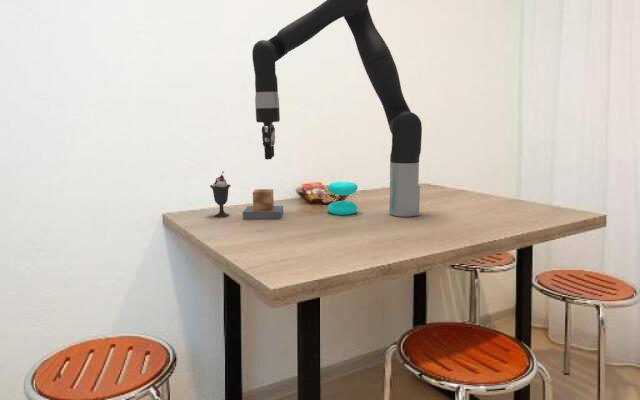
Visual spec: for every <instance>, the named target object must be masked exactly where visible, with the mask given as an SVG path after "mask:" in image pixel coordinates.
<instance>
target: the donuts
mask: <svg viewBox="0 0 640 400" xmlns="http://www.w3.org/2000/svg"><path fill="white" fill-rule="evenodd" d="M327 191H328V192H329V193H330V194H332V195H335V196H337V195H338V196H350V195H353V194H355V193H356V192H357V191H358V184H356V183H355V182H351V181H350V182H349V181H335V182H334V181H333V182H329V184H328V185H327ZM327 210H328V212H329V214H332V215H337V216H338V215H339V216H345V215H346V216H348V215H349V216H350V215H353V214H355V213H357V211H358V205H357V204H356V203H355V202H353V201H348V200H337V201H336V200H335V201H333V202H331V203H329V204H328V206H327Z"/></svg>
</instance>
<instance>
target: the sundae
mask: <svg viewBox="0 0 640 400" xmlns="http://www.w3.org/2000/svg"><path fill="white" fill-rule="evenodd" d="M224 173H225V172H224V170H223V171H222V172H221V175H220V176H219V177H216V178H215V182H214V183H212V184H211V185H209V187H210V188H211V189H212V194H213V198H214V201H215V203H216V205H218V206H219V211H218V213H215V214H214V217H215V218H226V217H229V216H230V214H229V213H227V212H225V210H224V205H225V204H227V202H228V198H229V190H230V188H231V185H230V184H228V183H227V180H226V178H225V177H224V175H223V174H224Z"/></svg>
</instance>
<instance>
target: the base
mask: <svg viewBox="0 0 640 400" xmlns="http://www.w3.org/2000/svg"><path fill="white" fill-rule="evenodd" d="M283 216H284V205H274V207H273V210H272V211H253V205H247V206H246V207H245V209H244V210H243V212H242V220H244V221H246V220H247V221H250V220H252V221H253V220H257V221H260V220H263V221H264V220H268V221H269V220H282V218H283Z"/></svg>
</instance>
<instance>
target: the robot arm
mask: <svg viewBox="0 0 640 400" xmlns="http://www.w3.org/2000/svg"><path fill="white" fill-rule="evenodd" d="M368 2H369V0H325V1H323V2H322V3H321V4H320V5H318V6H316V7H315V8H313V9H311V11H309V12H307V13H306V14H304V15H302V16H300V17H299V18H297V19H294V20H293V21H292V22H290V23H289V24H287V25H285V26H283V28H281V29H280V30H278V32H277V34H275V35H274V36H272V37H271V38H269V39H268V40H266V39H261V40H259V41H257V42H256V43H254V45H253V48H252V55H251V56H252V65H253V71H254V87H255V89H254V90H255V97H254V98H255V99H254V104H255V121H256V123H263V126H261V135H262V136H261V138H262V146H263V148H264V159H265V160H272V158H274V157H275V146H274V145H275V143H276V128H275V126H274V124H273V123H278V122H280V120H281V119H280V116H281V115H280V97H279V93H278V91H279V89H278V85H279V84H278V77H277V74H276V62H278V60H280V59H282V58H283V57H284V56H286V55H287V54H288V53H289V52H291V51H294V50H296V48H298V47H300V46H302V45H303V44H305V43H306V42H308V41H309V40H312V38H313V37H315V36H316V35H317V34H319V33H320V32H321V31H322V30H323V29H325V28H327V26H329V25H331V24H332V23H333V22H335V21H338V20H339V19H341V18H344V20H345V22H346V24H347V26H348V28H349V30H350V31H351V34H352V35H353V39H354V42H355V44H356V47H357V51H358V54H359V58H360V60H361V62H362V64H363V68H364V70H365V72H366V75H367V76H368V79H369V82H370V83H371V86H372V88H373V90H374V91H375V94H376V95H377V97H378V99H379V101H380V103H381V104H382V105H381V106H382V108H383V111H384V114H385V117H386V121H387V123H388V128H389V131H390V133H391V151H390V155H389V157H390V158H389V164H390V165H389V206H388V207H389V208H388V209H389V211H388V213H389V215H390V216H395V217H405V218H406V217H407V218H409V217H416V216H420V204H421V203H420V202H421V201H420V200H421V198H420V197H421V195H420V194H421V186H420V185H419V180H420V179H419V178H420V177H419V176H420V175H419V174H420V157H421V150H422V136H423V135H422V133H423V131H422V129H423V126H422V121H421V119H420V118H419V116H418V115H417V114H416V113H414V112H412V111H411V109H410V107H409V105H408V103H407V101H406V99H405V96H404V95H403V94H404V93H403V91H402V86H401V81H400V77H399V72H398V68H397V65H396V62H395V59H394V57H393V54H392V53H391V51H390V49H389V47H388V44H387V43H386V42H385V40H384V38H383V37H382V36H381V34H380V32H379V31H378V29H377V27H376V25H375V23H374V20H373V17H372V15H371V12H370V8H369V5H368Z"/></svg>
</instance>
